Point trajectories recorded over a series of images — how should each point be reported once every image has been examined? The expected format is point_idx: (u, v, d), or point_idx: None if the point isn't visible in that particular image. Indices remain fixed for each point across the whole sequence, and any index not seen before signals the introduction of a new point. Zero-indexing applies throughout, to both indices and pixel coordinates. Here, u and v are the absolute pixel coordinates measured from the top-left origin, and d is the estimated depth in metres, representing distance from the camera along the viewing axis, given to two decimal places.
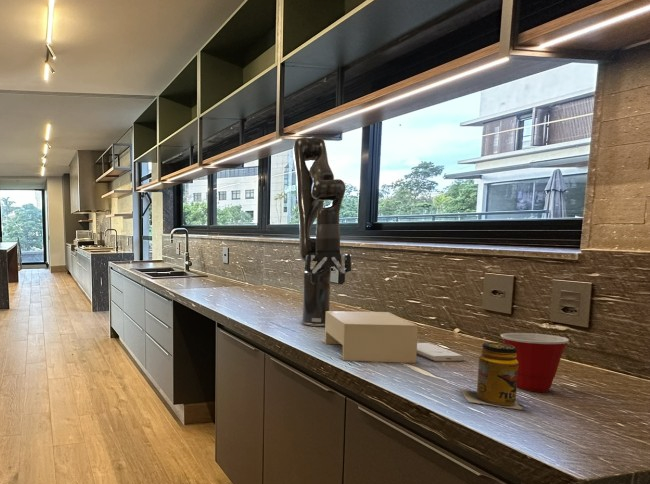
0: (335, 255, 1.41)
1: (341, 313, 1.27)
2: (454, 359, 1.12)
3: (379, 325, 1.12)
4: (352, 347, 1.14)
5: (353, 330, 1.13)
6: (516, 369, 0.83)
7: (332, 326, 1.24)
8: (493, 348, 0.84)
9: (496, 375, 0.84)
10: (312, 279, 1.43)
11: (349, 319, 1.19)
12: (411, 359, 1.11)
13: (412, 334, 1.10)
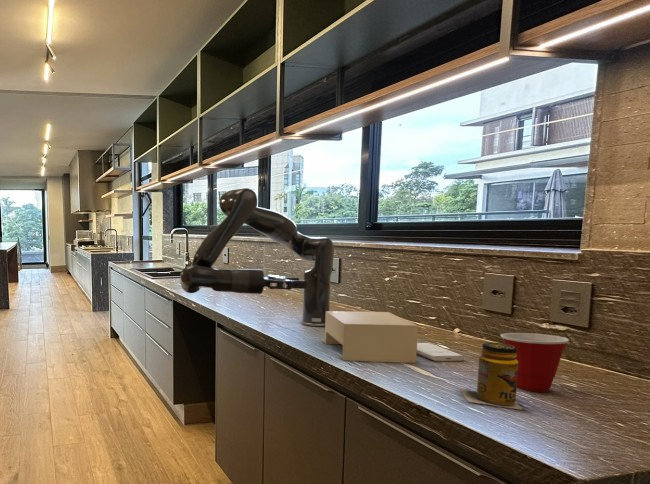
0: None
1: (341, 313, 1.27)
2: (454, 359, 1.12)
3: (379, 325, 1.12)
4: (352, 347, 1.14)
5: (353, 330, 1.13)
6: (516, 369, 0.83)
7: (332, 326, 1.24)
8: (493, 348, 0.84)
9: (496, 375, 0.84)
10: None
11: (349, 319, 1.19)
12: (411, 359, 1.11)
13: (412, 334, 1.10)
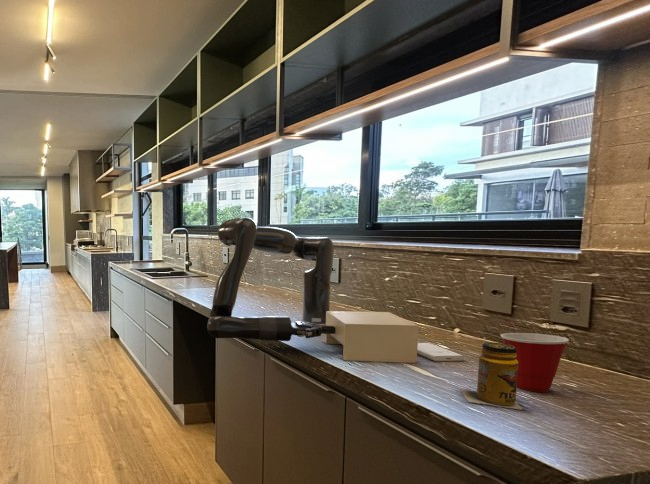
0: None
1: (342, 313, 1.27)
2: (454, 359, 1.12)
3: (380, 325, 1.12)
4: (352, 347, 1.14)
5: (353, 330, 1.13)
6: (516, 369, 0.83)
7: None
8: (493, 348, 0.84)
9: (496, 375, 0.84)
10: None
11: (350, 319, 1.19)
12: (411, 359, 1.11)
13: (412, 334, 1.10)
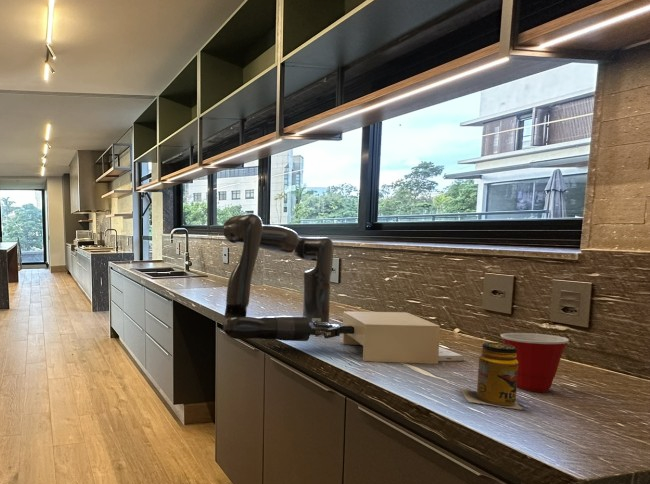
0: None
1: (359, 313, 1.26)
2: (454, 359, 1.12)
3: (400, 325, 1.11)
4: (373, 348, 1.13)
5: (373, 331, 1.12)
6: (516, 369, 0.83)
7: None
8: (493, 348, 0.84)
9: (496, 375, 0.84)
10: None
11: (369, 319, 1.17)
12: (433, 360, 1.10)
13: (434, 334, 1.09)
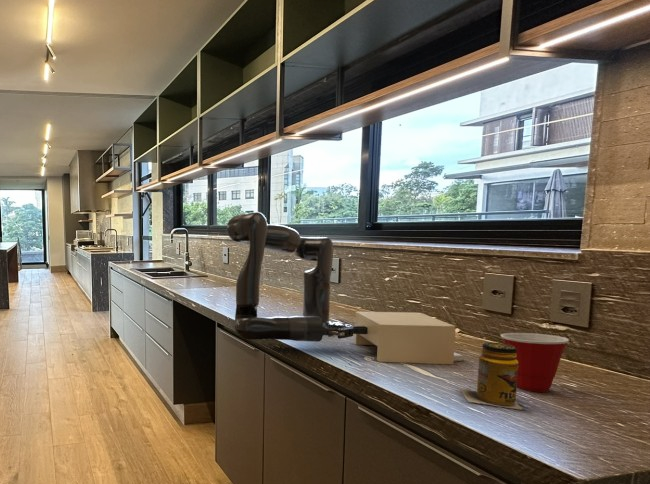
0: None
1: (372, 313, 1.25)
2: (454, 359, 1.12)
3: (415, 326, 1.10)
4: (387, 349, 1.12)
5: (388, 331, 1.11)
6: (516, 369, 0.83)
7: None
8: (493, 348, 0.84)
9: (496, 375, 0.84)
10: None
11: (383, 320, 1.17)
12: (448, 361, 1.09)
13: (449, 335, 1.08)
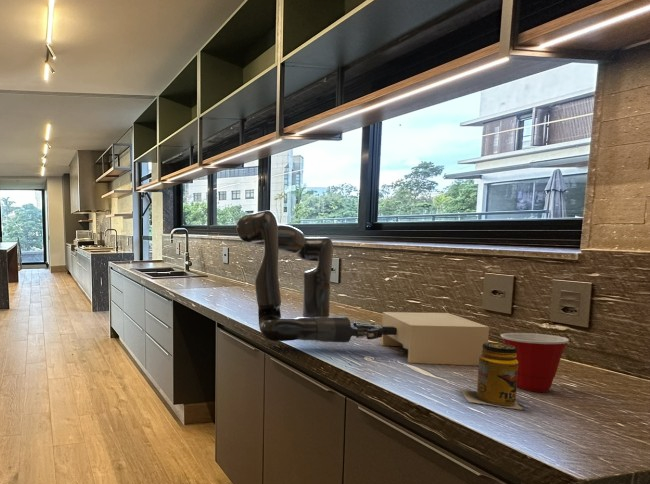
0: None
1: (400, 314, 1.23)
2: None
3: (448, 326, 1.08)
4: (418, 350, 1.10)
5: (420, 332, 1.10)
6: (516, 369, 0.83)
7: None
8: (493, 348, 0.84)
9: (496, 375, 0.84)
10: None
11: (413, 320, 1.15)
12: None
13: (483, 335, 1.07)
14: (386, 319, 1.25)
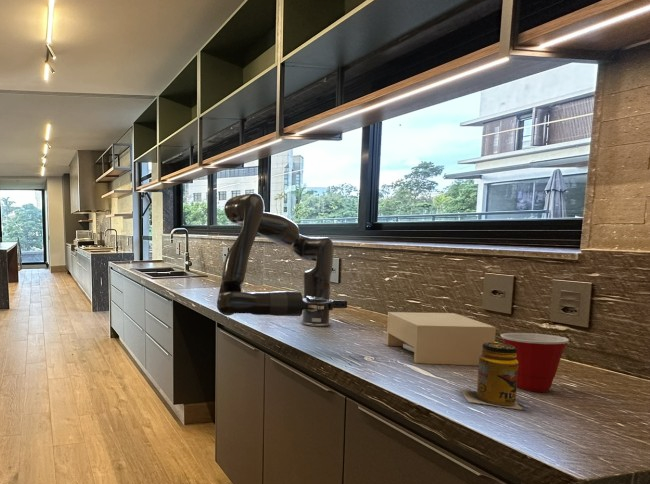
0: None
1: (406, 314, 1.23)
2: None
3: (454, 327, 1.08)
4: (425, 350, 1.10)
5: (426, 332, 1.09)
6: (516, 369, 0.83)
7: (398, 327, 1.20)
8: (493, 348, 0.84)
9: (496, 375, 0.84)
10: None
11: (419, 320, 1.15)
12: None
13: (489, 336, 1.07)
14: (391, 319, 1.25)
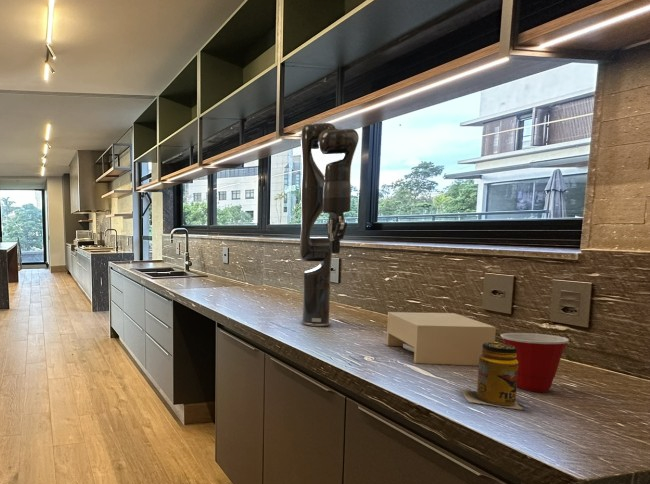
0: (335, 215, 1.24)
1: (406, 314, 1.23)
2: None
3: (454, 327, 1.08)
4: (425, 350, 1.10)
5: (426, 332, 1.09)
6: (516, 369, 0.83)
7: (398, 327, 1.20)
8: (493, 348, 0.84)
9: (496, 375, 0.84)
10: None
11: (419, 320, 1.15)
12: None
13: (489, 336, 1.07)
14: (391, 319, 1.25)
